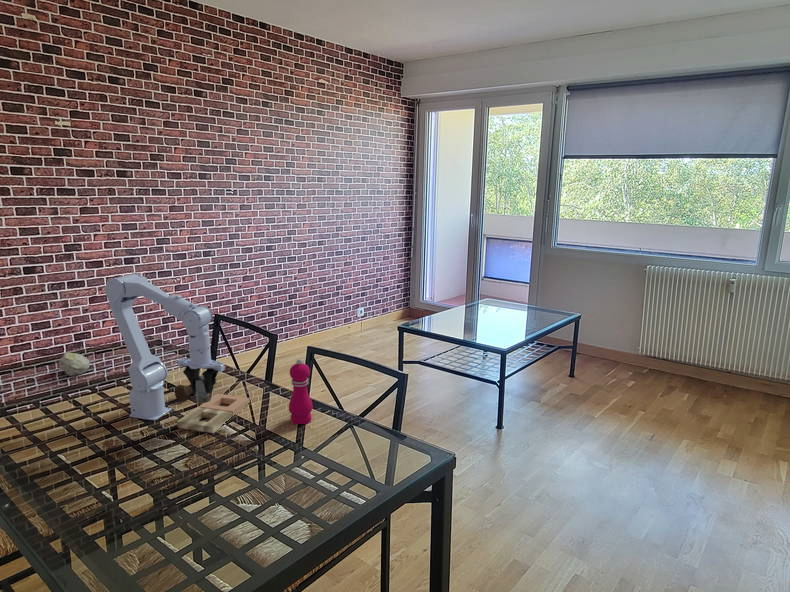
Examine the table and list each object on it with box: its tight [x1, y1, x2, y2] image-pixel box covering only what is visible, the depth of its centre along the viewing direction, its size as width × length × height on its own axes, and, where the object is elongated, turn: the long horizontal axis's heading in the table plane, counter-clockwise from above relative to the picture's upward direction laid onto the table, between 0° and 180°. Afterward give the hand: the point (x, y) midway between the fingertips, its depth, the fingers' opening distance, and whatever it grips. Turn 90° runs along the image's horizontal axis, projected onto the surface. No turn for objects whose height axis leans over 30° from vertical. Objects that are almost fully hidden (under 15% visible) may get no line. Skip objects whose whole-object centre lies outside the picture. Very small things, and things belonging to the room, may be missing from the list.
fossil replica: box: [58, 352, 91, 377], centre depth 191 cm, size 12×8×10 cm
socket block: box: [198, 393, 251, 417], centre depth 166 cm, size 12×10×2 cm
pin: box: [195, 375, 212, 404], centre depth 154 cm, size 4×4×7 cm
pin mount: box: [176, 406, 233, 434], centre depth 156 cm, size 12×10×2 cm
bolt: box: [174, 378, 217, 402], centre depth 177 cm, size 6×5×15 cm
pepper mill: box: [288, 358, 314, 425], centre depth 156 cm, size 7×7×20 cm
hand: (203, 391), depth 154 cm, fingers closed on pin, 4 cm apart
